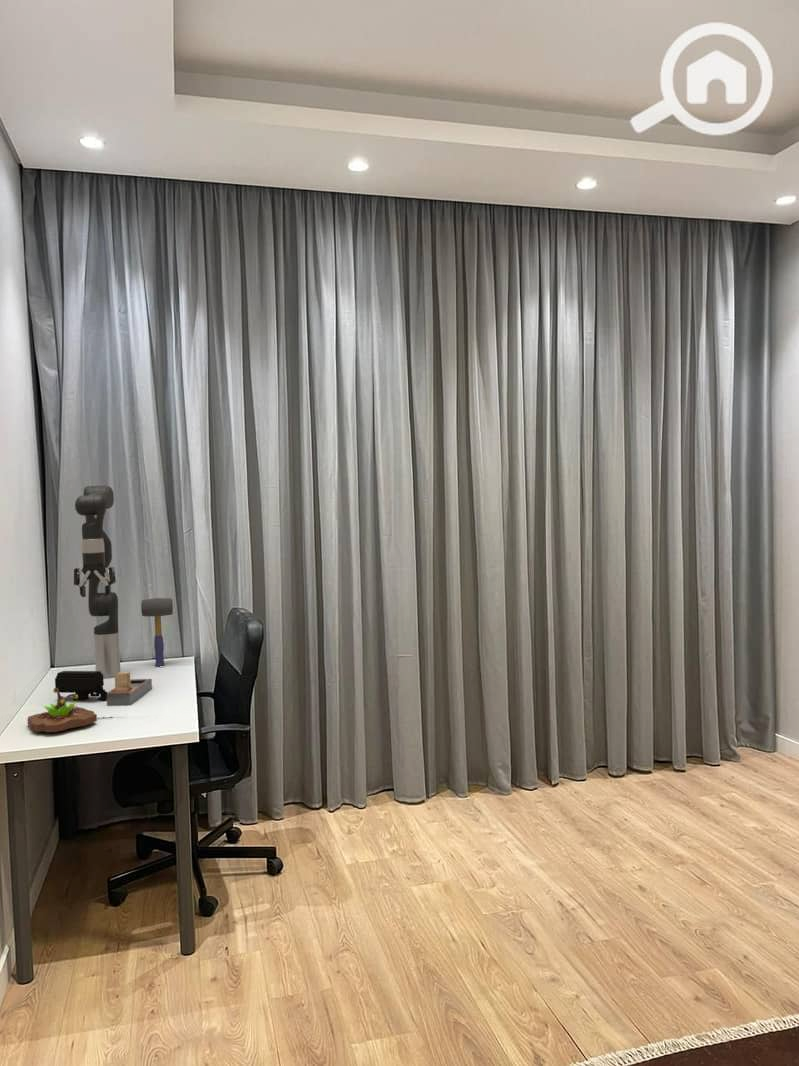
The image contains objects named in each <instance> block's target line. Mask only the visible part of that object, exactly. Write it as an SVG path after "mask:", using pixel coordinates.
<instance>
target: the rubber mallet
mask: <svg viewBox="0 0 799 1066" xmlns="http://www.w3.org/2000/svg"><path fill="white" fill-rule="evenodd" d="M140 602H141V605H140V606H141V607H140V609H141V611H140V612H141V616H142V617H154V639H153V640H154V641H153V642H154V643H153V645H154V647H153V649H154V655H155V663H154V667H155V666H156V667H155V668H157V667H159V668H161V667H160V666H164V665H165V666H166V664H165V659H164V657H165V656H164V651H165V648H164V647H165V642H164V637H163V634H162V632H163V631H162V630H163V629H162V617H165V616H172V615H173V614H174V605H173V599H172V598H168V597H167V598H166V597H165V598H163V597H162V598H161V597H159V598H158V597H157V598H147V599H142V600H141V601H140ZM165 666H164V667H165Z"/></svg>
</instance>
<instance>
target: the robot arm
mask: <svg viewBox="0 0 799 1066" xmlns="http://www.w3.org/2000/svg"><path fill="white" fill-rule="evenodd" d="M114 497H115V495H114V490H113V488H112V487H111V486H109V485H87V486H85V487H84V488H83V495H79V496H78V497H77V498H76V500H75V502H74V503H75V504H74V509H75V511H76V513H77V514H78V515H80V516H85V522H84V523H83V524H81V537H82V538H81V539H82V541H81V553H82V556H81V557H82V568H80V567H77V568H74V569H73V585H74V586H78V587H79V594H80V596H81V597H82V598H85V597H87V591H86V589H87V588H86V587H87V586H86V584H87V583H88V599H87V601H88V602H87V603H88V604H87V605H88V613H89V615H90V616H91V617H108V619H107V620H106V621H105V622H102V623H100V624H98V625H96V626H94V627H93V639H94V640H93V641H94V643H93V644H94V662H95V663H94V665H95V671H101V673H102V675H103V679H113V678H115V674H117V673H119V672H121V658H120V657H121V655H120V636H119V635H120V634H119V633H120V632H119V597H118V595H117V593H116V592H112V591H111V590H112V588H111V586H112V585H113V584H116V582H117V580H116V579H117V578H116V572H115V567H114V566H110V564H111V562H112V560H113V553H112V552H113V549H112V547H113V546H112V541H111V539H110V537H109V536H108V535H107V533H106V532H105V531H104V528H103V525H104V519H105V515H106V511H107V510H108V509H111V508H112V507H113V506H114V501H115V500H114V499H115V498H114ZM109 566H110V567H109ZM106 572H107V574H108V577H109V579H108V577H107V575H105V574H106ZM82 573H83V575H84V576H83V577H82V578H81V574H82ZM100 582H102V583H103V584H104V585H105V586H104V592H99V591H98V590H99V585H100Z"/></svg>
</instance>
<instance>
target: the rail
mask: <svg viewBox="0 0 799 1066" xmlns="http://www.w3.org/2000/svg"><path fill="white" fill-rule="evenodd" d="M152 682H153V680H152V678H137V679H136V678H135V679H133V678H132V679H131V678H130V683H131V690H129V691H118V692H115V687H114V688H112V689H111V690H109V691H107V700H106V706H108V707H109V706H131V705H132V704H134V703H135V702H137V701H138V700H139V699H141V698H142V697H144V696H145V695H146V694H148V692H150V691H151V690H153V683H152Z"/></svg>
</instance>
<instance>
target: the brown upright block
mask: <svg viewBox="0 0 799 1066" xmlns="http://www.w3.org/2000/svg"><path fill="white" fill-rule="evenodd" d="M130 679H131V672H130V671H126V672H125V671H120V672H119V673H117V674H115V677H114V688H115V692H118V691H129V690H131V683H130Z"/></svg>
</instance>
